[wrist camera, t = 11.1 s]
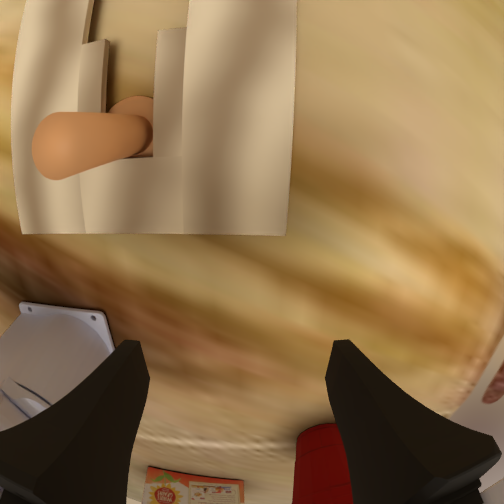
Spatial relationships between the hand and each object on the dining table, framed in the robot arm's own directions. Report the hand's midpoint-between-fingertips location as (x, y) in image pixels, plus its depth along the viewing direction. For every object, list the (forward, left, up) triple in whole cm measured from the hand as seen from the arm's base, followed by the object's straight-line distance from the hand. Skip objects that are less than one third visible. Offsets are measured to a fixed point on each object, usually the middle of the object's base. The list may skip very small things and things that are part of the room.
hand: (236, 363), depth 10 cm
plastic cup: (+10, -23, -10) cm, 27 cm away
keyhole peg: (-6, +8, -10) cm, 14 cm away
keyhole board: (-6, +13, -10) cm, 18 cm away
